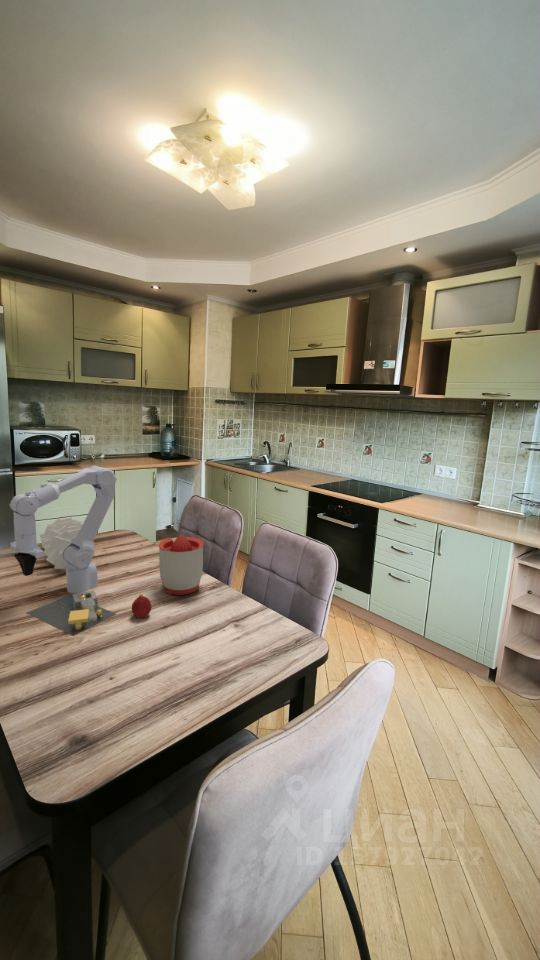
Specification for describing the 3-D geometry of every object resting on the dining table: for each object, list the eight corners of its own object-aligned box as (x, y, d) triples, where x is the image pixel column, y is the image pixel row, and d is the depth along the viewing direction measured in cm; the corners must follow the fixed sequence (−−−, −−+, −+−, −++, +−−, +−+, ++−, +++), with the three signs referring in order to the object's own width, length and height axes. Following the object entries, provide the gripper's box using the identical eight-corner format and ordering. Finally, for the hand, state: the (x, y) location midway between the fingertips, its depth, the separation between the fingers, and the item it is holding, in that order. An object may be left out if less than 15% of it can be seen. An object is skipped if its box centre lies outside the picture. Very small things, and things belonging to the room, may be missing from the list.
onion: (155, 616, 128) (155, 592, 127) (142, 624, 123) (142, 600, 122) (141, 611, 131) (140, 588, 129) (127, 620, 126) (127, 595, 124)
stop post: (99, 615, 126) (99, 608, 126) (103, 616, 126) (103, 609, 125) (95, 617, 125) (95, 610, 125) (98, 618, 124) (98, 612, 124)
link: (73, 603, 133) (72, 593, 132) (94, 599, 136) (94, 589, 136) (79, 625, 120) (79, 614, 120) (103, 619, 124) (102, 609, 123)
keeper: (70, 621, 122) (70, 611, 122) (89, 618, 124) (88, 609, 123) (68, 631, 117) (68, 621, 116) (87, 629, 118) (87, 618, 118)
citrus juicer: (199, 576, 160) (199, 526, 156) (206, 595, 144) (207, 540, 140) (157, 579, 155) (156, 528, 151) (160, 600, 139) (159, 543, 135)
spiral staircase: (74, 561, 180) (86, 579, 159) (31, 550, 170) (38, 568, 149) (92, 521, 182) (106, 534, 161) (50, 509, 172) (59, 520, 151)
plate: (70, 596, 139) (70, 594, 139) (117, 616, 127) (116, 614, 127) (26, 615, 126) (25, 612, 126) (73, 638, 115) (73, 635, 115)
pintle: (83, 603, 133) (83, 593, 132) (87, 605, 132) (87, 595, 131) (77, 606, 131) (77, 595, 131) (81, 607, 130) (81, 597, 130)
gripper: (-1, 531, 128) (2, 573, 131) (25, 541, 121) (28, 584, 123) (22, 526, 134) (24, 566, 137) (49, 535, 127) (51, 576, 129)
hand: (28, 574), depth 130 cm, fingers closed
